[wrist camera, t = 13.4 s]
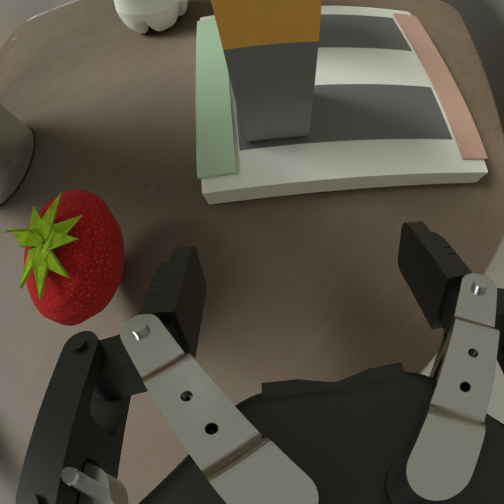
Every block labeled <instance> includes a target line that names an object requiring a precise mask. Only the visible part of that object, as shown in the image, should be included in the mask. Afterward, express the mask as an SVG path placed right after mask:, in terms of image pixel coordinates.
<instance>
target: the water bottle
mask: <svg viewBox="0 0 504 504" xmlns="http://www.w3.org/2000/svg"><path fill="white" fill-rule="evenodd" d="M114 3H115V7H116V11H117V13H118V14H119V16H120V18H121V19H122V21H123V22H124V23H125V24H126V25H127V26H128V27H129V28H130V29H132V30H133V31H135V32H137V33H140V34H144V33H146V32H147V31H148V29H149V27H151V28H152V29H154V30H156V31H164V30H166V29H168V28H170V27H172V26H173V25H174V24H175V23H176V20H177V17H178V16H183V15H184V13H185V12H186V9H187V3H188V0H114Z"/></svg>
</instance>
